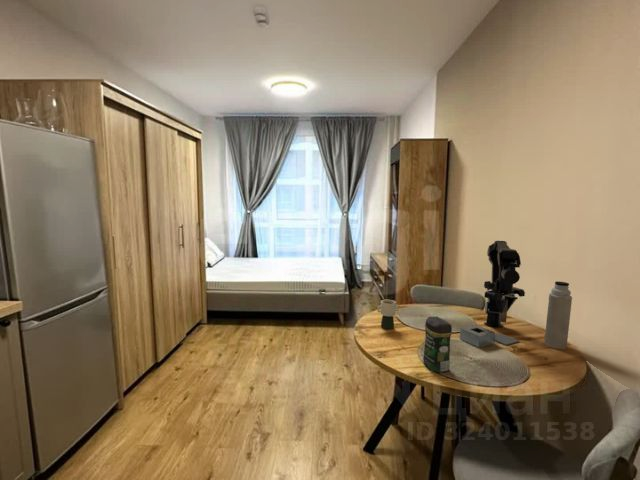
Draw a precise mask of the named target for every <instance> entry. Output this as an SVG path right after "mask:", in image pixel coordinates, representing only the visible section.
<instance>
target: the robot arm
mask: <svg viewBox="0 0 640 480" xmlns="http://www.w3.org/2000/svg"><path fill="white" fill-rule="evenodd" d="M486 254H487V257H488V261H489V263H490V264H491V281H490V280H487V281H484V285H483V287H484V288H485V289H486V291H485V292H484V296H483V297H484V298H486V299H487V301H486V303H485V305H484V312H485V314H486V315H487V316H486V322H484V323H483V324H484V325H486V326H489V327H491V328H494V329H497V328H502V327H504V324H502V322H500V321H499V315H500V313H502V312H503V310H504V307H505V305H506V302H507V300H506V299H508V306H507V312H508V311H510V309H511V307H512V306H513V305H514V303H515V302H516V301H517V300H518V297H520V298H521V297H522V298H523V297H525V296H526V295H525V294H526V291H525V290H524V289H522V288H518V287H514V285H515V284H516V283H518V282H519V281H520V278H521V276H520V273H519V272H518V271H517V270H516V268H521V265H522V261H521V257H520V254H519V252H518V250H517V249H515V248H510V247H509V245H508V242H507V241H505V240H494V242H493V243H492V244H490V245H488V248H487V253H486ZM516 295H518V297H517V296H516Z"/></svg>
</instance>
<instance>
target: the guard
mask: <svg viewBox="0 0 640 480" xmlns="http://www.w3.org/2000/svg"><path fill="white" fill-rule="evenodd" d="M459 329H460V330H459V331H460V332H459V340H462V341H463V340H464V342H466V343H468V344H470V345H471V346H474V345H475V346H474V347H476V346H477V347H476V348H478V347H479V348H481V347H482V346H483V347H486V346H489V345H495V342H496V341H495V335H496V332H495V331H492V330H490V329H487V328H485V327H482V326H480V325H478V324H473V325H469V326H465V327H459ZM483 347H482V348H483Z"/></svg>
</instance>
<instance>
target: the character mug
mask: <svg viewBox="0 0 640 480" xmlns="http://www.w3.org/2000/svg"><path fill="white" fill-rule="evenodd" d="M399 309H400V305H399V304H397V301H395V300H392V299H383V300H381V301H380V305H377V313H380V314H381V315H382V316H381V322H380V323H381V324H380V327H382V328H384V329H387V330H391V329H393V328H394V327H395V322H394V319H395V318H394V316H396V312H399Z"/></svg>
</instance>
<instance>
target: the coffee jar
mask: <svg viewBox="0 0 640 480" xmlns="http://www.w3.org/2000/svg"><path fill="white" fill-rule="evenodd" d="M452 330H453V328H452V324H451V323H449V322H448V321H446V319H443V318H441V317H439V316H437V315H436V316H428V317H427V318H426V320H425V324H424V331H425V332H424V333H425V337H424V338H425V339H424V350H423V360H422V362H423V364H424V365H425V366H426V367H427V368H428V369H429V370H431V372H435V373H445V372H447V371H449V370H450V362H451V361H450V360H451V359H450V352H451V350H450V349H451V336H452V333H453V331H452Z"/></svg>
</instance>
